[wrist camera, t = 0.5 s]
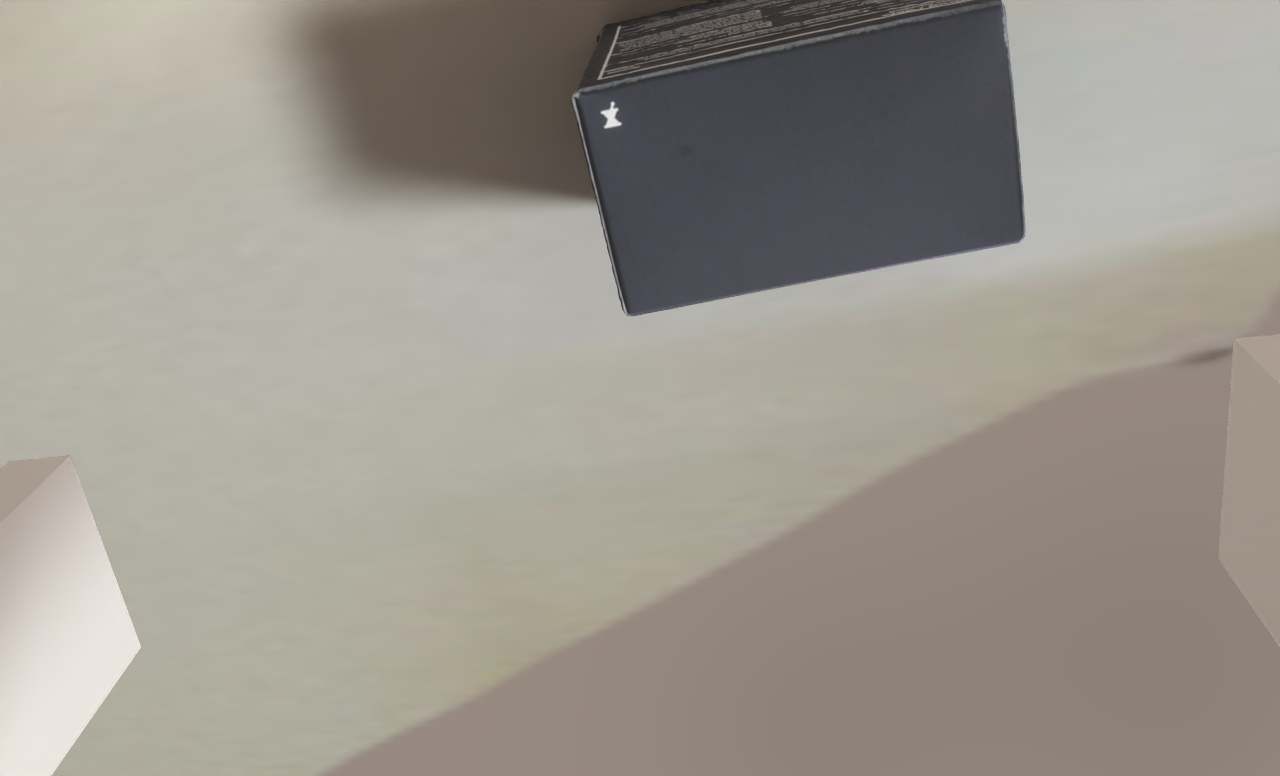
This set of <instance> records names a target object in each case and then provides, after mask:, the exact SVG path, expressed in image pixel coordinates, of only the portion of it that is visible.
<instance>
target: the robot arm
mask: <svg viewBox="0 0 1280 776" xmlns="http://www.w3.org/2000/svg"><path fill="white" fill-rule="evenodd" d="M1225 459H1226V460H1225V472H1224V486H1223V501H1222V517H1221V530H1220V543H1219V558H1218V559H1219V560H1220V562H1221V563H1222V565H1223V566H1224V568H1225V569H1226V570H1227V572H1228V573H1229V575H1230V576H1231V578H1232V579H1233V581H1234V582H1235V583H1236V585H1237V586H1238V588H1239V589H1240V591H1241V592H1242V593H1243V595H1244V596H1245V598H1246V599H1247V601H1248V602H1249V604H1250V605H1251V606H1252V608H1253V609H1254V611H1255V612H1256V614H1257V615H1258V617H1259V618H1260V619H1261V621H1262V622H1263V624H1264V625H1265V627H1266V628H1267V630H1268V631H1269V632H1270V634H1271V635H1272V637H1273V638H1274V640H1275V641H1276V643H1277V644H1278V645H1279V647H1280V334H1279V335H1269V336H1258V337H1248V338H1238V339H1234V344H1233V358H1232V373H1231V388H1230V401H1229V415H1228V430H1227V444H1226V458H1225ZM140 648H141V646H140V643H139V641H138V638H137V635H136V632H135V630H134V627H133V624H132V622H131V619H130V616H129V613H128V611H127V608H126V605H125V603H124V600H123V597H122V594H121V592H120V589H119V586H118V584H117V581H116V578H115V575H114V573H113V570H112V567H111V565H110V562H109V559H108V556H107V554H106V551H105V548H104V546H103V543H102V540H101V537H100V535H99V532H98V529H97V527H96V524H95V521H94V518H93V516H92V513H91V510H90V508H89V505H88V502H87V499H86V497H85V494H84V491H83V489H82V486H81V483H80V480H79V478H78V475H77V472H76V470H75V467H74V464H73V461H72V459H71V456H70V455H68V456H58V457H48V458H38V459H28V460H18V461H9V462H8V463H7V464H6V465H5V466H3V467H2V468H1V469H0V776H51V775H52V774H53V772H54V771H55V769H56V768H57V767H58V765H59V764H60V762H61V761H62V759H63V758H64V757H65V755H66V754H67V752H68V751H69V749H70V748H71V747H72V745H73V744H74V742H75V741H76V739H77V738H78V737H79V735H80V734H81V732H82V731H83V729H84V728H85V727H86V725H87V724H88V722H89V721H90V719H91V718H92V716H93V715H94V714H95V712H96V711H97V709H98V708H99V706H100V705H101V704H102V702H103V701H104V699H105V698H106V696H107V695H108V694H109V692H110V691H111V689H112V688H113V686H114V685H115V684H116V682H117V681H118V679H119V678H120V676H121V675H122V674H123V672H124V671H125V669H126V668H127V666H128V665H129V664H130V662H131V661H132V659H133V658H134V656H135V655H136V653H137V652H138V651H139V649H140Z"/></svg>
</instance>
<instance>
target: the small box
mask: <svg viewBox="0 0 1280 776" xmlns="http://www.w3.org/2000/svg"><path fill="white" fill-rule="evenodd" d="M597 42H598V45H597V47H596V49H595V51H594V53H593V56H592V58H591V60H590V62H589V65H588V67H587V69H586V71H585V74H584V76H583V79H582V81H581V83H580V86H579V88H578V89H577V90H576V91H575V92H574V93H573V95H572V98H571V104H572V107H573V110H574V113H575V117H576V120H577V124H578V129H579V133H580V136H581V140H582V145H583V149H584V153H585V157H586V161H587V165H588V169H589V174H590V179H591V183H592V187H593V190H594V194H595V197H596V201H597V205H598V209H599V214H600V218H601V224H602V227H603V231H604V236H605V240H606V244H607V249H608V253H609V256H610V260H611V263H612V270H613V274H614V277H615V281H616V284H617V288H618V294H619V299H620V301H621V306H622V309H623V311H624V313H625V314H626V315H627V316H637V315H642V314H646V313H652V312H657V311H662V310H668V309H673V308H678V307H683V306H688V305H693V304H698V303H703V302H708V301H713V300H718V299H723V298H729V297H734V296H739V295H744V294H749V293H754V292H760V291H765V290H770V289H775V288H780V287H785V286H790V285H796V284H801V283H806V282H811V281H816V280H821V279H827V278H832V277H837V276H842V275H848V274H854V273H859V272H864V271H870V270H875V269H880V268H886V267H891V266H896V265H901V264H907V263H912V262H917V261H923V260H928V259H934V258H939V257H945V256H950V255H956V254H961V253H967V252H972V251H978V250H983V249H988V248H994V247H1000V246H1005V245H1010V244H1015V243H1020V242H1021V241H1023V239H1024V237H1025V215H1024V197H1023V187H1022V176H1021V164H1020V153H1019V140H1018V133H1017V123H1016V114H1015V102H1014V91H1013V80H1012V72H1011V63H1010V53H1009V42H1008V33H1007V20H1006V13H1005V7H1004V4H1003V2H1002V0H715V1H713V0H711V1H709V2H707V3H703V4H698V5H692V6H689V7H681V8H679V9H674V10H670V11H665V12H661V13H658V14H654V15H650V16H645V17H641V18H637V19H632V20H628V21H624V22H620V23H615V24H608V25H605V26H604V28H603V29H602V31H601V32H600V35H599V36H598V37H597Z"/></svg>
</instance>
